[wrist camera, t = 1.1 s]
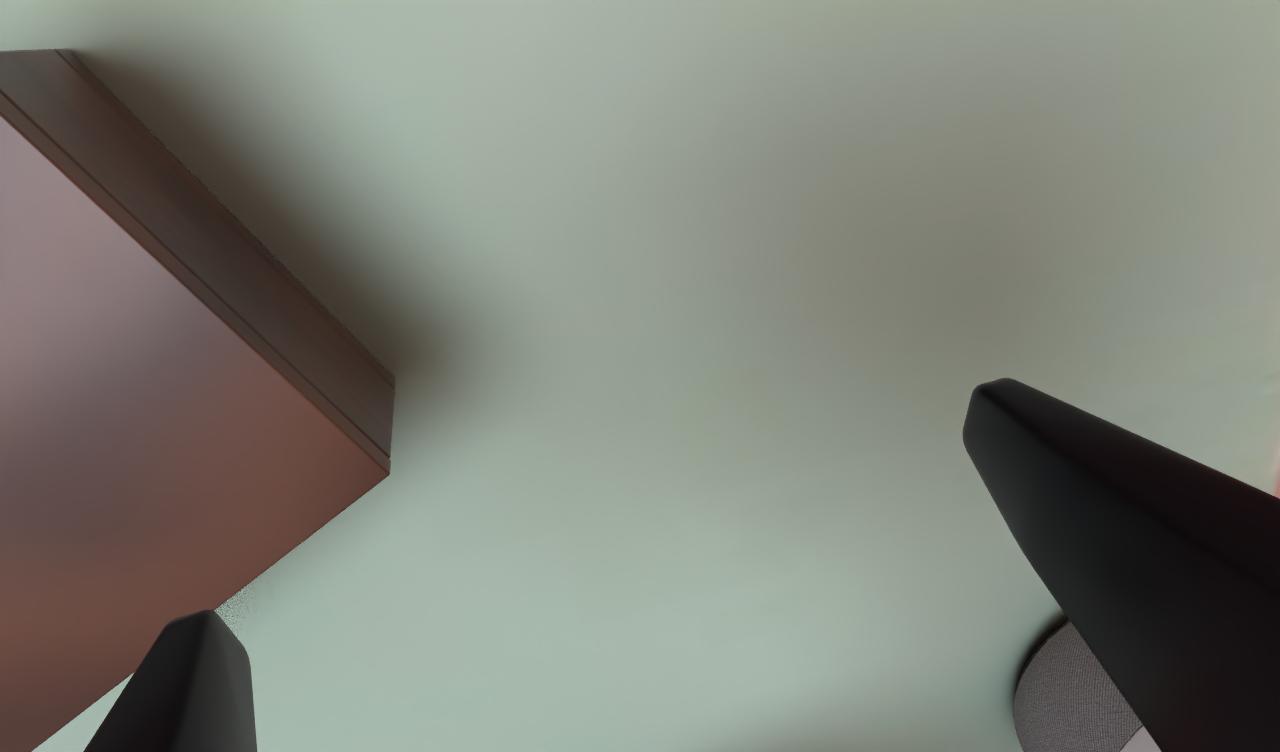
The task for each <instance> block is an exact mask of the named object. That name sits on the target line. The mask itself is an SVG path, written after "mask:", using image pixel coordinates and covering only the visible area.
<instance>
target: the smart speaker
mask: <svg viewBox="0 0 1280 752" xmlns="http://www.w3.org/2000/svg"><path fill="white" fill-rule="evenodd" d="M1013 717H1014V723H1015V728H1016V732H1017V736H1018V739H1019V742H1020V744H1021V747H1022V749H1023V751H1024V752H1161V750H1160V749H1159V748H1158V746H1157V745H1156V743H1155V742H1154V740H1153V739H1152V737H1151V736H1150V735H1149V733H1148V732H1147V730H1146V729H1145V727H1144V726H1143V725H1142V723H1141V722H1140V720H1139V719H1138V717H1137V716H1136V715H1135V713H1134V712H1133V710H1132V709H1131V707H1130V706H1129V704H1128V703H1127V702H1126V700H1125V699H1124V697H1123V696H1122V694H1121V693H1120V692H1119V690H1118V689H1117V687H1116V686H1115V684H1114V683H1113V682H1112V680H1111V679H1110V677H1109V676H1108V674H1107V673H1106V671H1105V670H1104V669H1103V667H1102V666H1101V664H1100V663H1099V661H1098V660H1097V659H1096V657H1095V656H1094V654H1093V653H1092V651H1091V650H1090V649H1089V647H1088V646H1087V644H1086V643H1085V641H1084V640H1083V638H1082V637H1081V636H1080V634H1079V633H1078V631H1077V630H1076V628H1075V627H1074V626H1073V624H1072V623H1071V621H1070V620H1069V621H1067V622H1065V623H1064V624H1063V625H1061V626H1060V627H1059V628H1057V629H1056V630H1055V631H1054V632H1053V633H1052V634H1051V635H1049V636H1048V637H1047V638H1046V639H1045V640H1044V641H1043V642H1042V644H1041V645H1040V646H1039V647H1038V648H1037V650H1036V651H1035V652H1034V653H1033V655H1032V656H1031V658H1030V659H1029V661H1028V662H1027V664H1026V666H1025V668H1024V670H1023V672H1022V674H1021V677H1020V679H1019V682H1018V685H1017V688H1016V692H1015V696H1014V704H1013Z"/></svg>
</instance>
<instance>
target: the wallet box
mask: <svg viewBox="0 0 1280 752" xmlns="http://www.w3.org/2000/svg"><path fill="white" fill-rule="evenodd" d="M0 93H1V94H2V95H3V96H4V97H5V98H6V99H7V100H8V101H9V102H10V103H11V104H12V105H13V106H14V107H16V108H17V109H18V110H19V111H20V112H21V113H22V114H23V115H24V116H25V117H26V118H27V119H28V120H29V121H30V122H32V123H33V124H34V125H35V126H36V127H37V128H38V129H39V130H40V131H41V132H42V133H43V134H44V135H45V136H46V137H47V138H49V139H50V140H51V141H52V142H53V143H54V144H55V145H56V146H57V147H58V148H59V149H60V150H61V151H62V152H63V153H64V154H66V155H67V156H68V157H69V158H70V159H71V160H72V161H73V162H74V163H75V164H76V165H77V166H78V167H79V168H80V169H82V170H83V171H84V172H85V173H86V174H87V175H88V176H89V177H90V178H91V179H92V180H93V181H94V182H95V183H96V184H97V185H99V186H100V187H101V188H102V189H103V190H104V191H105V192H106V193H107V194H108V195H109V196H110V197H111V198H112V199H113V200H114V201H116V202H117V203H118V204H119V205H120V206H121V207H122V208H123V209H124V210H125V211H126V212H127V213H128V214H129V215H130V216H131V217H133V218H134V219H135V220H136V221H137V222H138V223H139V224H140V225H141V226H142V227H143V228H144V229H145V230H146V231H147V232H149V233H150V234H151V235H152V236H153V237H154V238H155V239H156V240H157V241H158V242H159V243H160V244H161V245H162V246H163V247H164V248H166V249H167V250H168V251H169V252H170V253H171V254H172V255H173V256H174V257H175V258H176V259H177V260H178V261H179V262H180V263H181V264H183V265H184V266H185V267H186V268H187V269H188V270H189V271H190V272H191V273H192V274H193V275H194V276H195V277H196V278H197V279H199V280H200V281H201V282H202V283H203V284H204V285H205V286H206V287H207V288H208V289H209V290H210V291H211V292H212V293H213V294H214V295H216V296H217V297H218V298H219V299H220V300H221V301H222V302H223V303H224V304H225V305H226V306H227V307H228V308H229V309H230V310H231V311H233V312H234V313H235V314H236V315H237V316H238V317H239V318H240V319H241V320H242V321H243V322H244V323H245V324H246V325H247V326H249V327H250V328H251V329H252V330H253V331H254V332H255V333H256V334H257V335H258V336H259V337H260V338H261V339H262V340H263V341H264V342H266V343H267V344H268V345H269V346H270V347H271V348H272V349H273V350H274V351H275V352H276V353H277V354H278V355H279V356H280V357H281V358H283V359H284V360H285V361H286V362H287V363H288V364H289V365H290V366H291V367H292V368H293V369H294V370H295V371H296V372H297V373H299V374H300V375H301V376H302V377H303V378H304V379H305V380H306V381H307V382H308V383H309V384H310V385H311V386H312V387H313V388H314V389H316V390H317V391H318V392H319V393H320V394H321V395H322V396H323V397H324V398H325V399H326V400H327V401H328V402H329V403H330V404H331V405H333V406H334V407H335V408H336V409H337V410H338V411H339V412H340V413H341V414H342V415H343V416H344V417H345V418H346V419H347V420H348V421H350V422H351V423H352V424H353V425H354V426H355V427H356V428H357V429H358V430H359V431H360V432H361V433H362V434H363V435H364V436H366V437H367V438H368V439H369V440H370V441H371V442H372V443H373V444H374V445H375V446H376V447H377V448H378V449H379V450H380V451H381V452H383V453H384V454H385V455H386V456H387V457H388V458H389V459H390V455H391V440H392V425H393V411H394V396H395V391H394V390H395V381H396V380H395V378H394V377H393V376H392V375H391V374H390V373H389V372H388V371H387V370H386V369H385V368H384V367H383V366H382V365H381V364H380V363H379V362H378V361H377V360H376V359H375V358H374V357H373V356H372V355H371V354H370V353H369V352H368V351H367V350H366V349H365V348H364V347H363V346H362V345H361V344H360V343H359V342H358V341H357V340H356V339H355V338H354V337H353V336H352V335H351V334H350V333H349V332H348V331H347V330H346V329H345V328H344V327H343V326H342V325H341V324H340V323H339V322H338V321H337V320H336V319H335V318H334V317H333V316H332V315H331V314H330V312H329V311H328V310H327V309H326V308H325V307H324V306H323V305H322V304H321V303H320V302H319V301H318V300H317V299H316V298H315V297H314V296H313V295H312V294H311V293H310V292H309V291H308V290H307V289H306V288H305V287H304V286H303V285H302V284H301V283H300V282H299V281H298V280H297V279H296V278H295V277H294V276H293V275H292V274H291V273H290V272H289V271H288V270H287V269H286V268H285V267H284V266H283V265H282V264H281V263H280V262H279V261H278V260H277V259H276V258H275V257H274V256H273V255H272V254H271V253H270V252H269V251H268V250H267V249H266V248H265V247H264V246H263V245H262V244H261V243H260V242H259V241H258V240H257V239H256V238H255V237H254V236H253V235H252V234H251V233H250V232H249V231H248V230H247V229H246V228H245V227H244V226H243V225H242V224H241V223H240V222H239V221H238V220H237V219H236V218H235V217H234V216H233V215H232V214H231V213H230V212H229V211H228V210H227V209H226V208H225V207H224V206H223V205H222V204H221V203H220V202H219V201H218V200H217V199H216V198H215V197H214V196H213V195H212V194H211V193H210V192H209V191H208V190H207V189H206V188H205V187H204V186H203V184H202V183H201V182H200V181H199V180H198V179H197V178H196V177H195V176H194V175H193V174H192V173H191V172H190V171H189V170H188V169H187V168H186V167H185V166H184V165H183V164H182V163H181V162H180V161H179V160H178V159H177V158H176V157H175V156H174V155H173V154H172V153H171V152H170V151H169V150H168V149H167V148H166V147H165V146H164V145H163V144H162V143H161V142H160V141H159V140H158V139H157V138H156V137H155V136H154V135H153V134H152V133H151V132H150V131H149V130H148V129H147V128H146V127H145V126H144V125H143V124H142V123H141V122H140V121H139V120H138V119H137V118H136V117H135V116H134V115H133V114H132V113H131V112H130V111H129V110H128V109H127V108H126V107H125V106H124V105H123V104H122V103H121V102H120V101H119V100H118V99H117V98H116V97H115V96H114V95H113V94H112V93H111V92H110V91H109V90H108V89H107V88H106V87H105V86H104V85H103V84H102V83H101V82H100V81H99V80H98V79H97V78H96V77H95V76H94V75H93V74H92V73H91V72H90V71H89V70H88V69H87V68H86V67H85V66H84V65H83V64H82V63H81V62H80V61H79V60H78V59H77V58H76V56H75V55H74V54H73V53H72V52H71V51H70V50H68V49H53V50H52V49H43V50H16V51H0Z"/></svg>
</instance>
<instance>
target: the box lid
mask: <svg viewBox="0 0 1280 752" xmlns="http://www.w3.org/2000/svg"><path fill="white" fill-rule="evenodd" d="M390 463H391V461H390V459H389V458H388V457H387V456H386V455H385V454H384V453H383V452H381V451H380V450H379V449H378V448H377V447H376V446H375V445H374V444H373V443H372V442H371V441H370V440H369V439H368V438H367V437H366V436H364V435H363V434H362V433H361V432H360V431H359V430H358V429H357V428H356V427H355V426H354V425H353V424H352V423H351V422H350V421H348V420H347V419H346V418H345V417H344V416H343V415H342V414H341V413H340V412H339V411H338V410H337V409H336V408H335V407H334V406H333V405H331V404H330V403H329V402H328V401H327V400H326V399H325V398H324V397H323V396H322V395H321V394H320V393H319V392H318V391H317V390H316V389H314V388H313V387H312V386H311V385H310V384H309V383H308V382H307V381H306V380H305V379H304V378H303V377H302V376H301V375H300V374H299V373H297V372H296V371H295V370H294V369H293V368H292V367H291V366H290V365H289V364H288V363H287V362H286V361H285V360H284V359H283V358H281V357H280V356H279V355H278V354H277V353H276V352H275V351H274V350H273V349H272V348H271V347H270V346H269V345H268V344H267V343H266V342H264V341H263V340H262V339H261V338H260V337H259V336H258V335H257V334H256V333H255V332H254V331H253V330H252V329H251V328H250V327H249V326H247V325H246V324H245V323H244V322H243V321H242V320H241V319H240V318H239V317H238V316H237V315H236V314H235V313H234V312H233V311H231V310H230V309H229V308H228V307H227V306H226V305H225V304H224V303H223V302H222V301H221V300H220V299H219V298H218V297H217V296H216V295H214V294H213V293H212V292H211V291H210V290H209V289H208V288H207V287H206V286H205V285H204V284H203V283H202V282H201V281H200V280H199V279H197V278H196V277H195V276H194V275H193V274H192V273H191V272H190V271H189V270H188V269H187V268H186V267H185V266H184V265H183V264H181V263H180V262H179V261H178V260H177V259H176V258H175V257H174V256H173V255H172V254H171V253H170V252H169V251H168V250H167V249H166V248H164V247H163V246H162V245H161V244H160V243H159V242H158V241H157V240H156V239H155V238H154V237H153V236H152V235H151V234H150V233H149V232H147V231H146V230H145V229H144V228H143V227H142V226H141V225H140V224H139V223H138V222H137V221H136V220H135V219H134V218H133V217H131V216H130V215H129V214H128V213H127V212H126V211H125V210H124V209H123V208H122V207H121V206H120V205H119V204H118V203H117V202H116V201H114V200H113V199H112V198H111V197H110V196H109V195H108V194H107V193H106V192H105V191H104V190H103V189H102V188H101V187H100V186H99V185H97V184H96V183H95V182H94V181H93V180H92V179H91V178H90V177H89V176H88V175H87V174H86V173H85V172H84V171H83V170H82V169H80V168H79V167H78V166H77V165H76V164H75V163H74V162H73V161H72V160H71V159H70V158H69V157H68V156H67V155H66V154H64V153H63V152H62V151H61V150H60V149H59V148H58V147H57V146H56V145H55V144H54V143H53V142H52V141H51V140H50V139H49V138H47V137H46V136H45V135H44V134H43V133H42V132H41V131H40V130H39V129H38V128H37V127H36V126H35V125H34V124H33V123H32V122H30V121H29V120H28V119H27V118H26V117H25V116H24V115H23V114H22V113H21V112H20V111H19V110H18V109H17V108H16V107H14V106H13V105H12V104H11V103H10V102H9V101H8V100H7V99H6V98H5V97H4V96H3V95H2V94H1V93H0V752H31V751H33V750H34V749H35V748H37V747H38V746H39V745H40V744H42V743H43V742H44V741H46V740H47V739H48V738H49V737H51V736H52V735H53V734H55V733H56V732H57V731H59V730H60V729H61V728H62V727H64V726H65V725H66V724H68V723H69V722H70V721H71V720H73V719H74V718H75V717H77V716H78V715H79V714H81V713H82V712H83V711H84V710H86V709H87V708H88V707H90V706H91V705H92V704H93V703H95V702H96V701H97V700H99V699H100V698H101V697H103V696H104V695H105V694H106V693H108V692H109V691H110V690H112V689H113V688H114V687H115V686H117V685H118V684H119V683H121V682H122V681H123V680H125V679H126V678H127V677H128V676H130V675H131V674H132V673H134V672H135V671H136V670H137V668H138V667H139V665H140V664H141V662H142V660H143V659H144V657H145V656H146V654H147V653H148V651H149V650H150V648H151V646H152V645H153V643H154V642H155V640H156V639H157V637H158V636H159V634H160V633H161V631H162V629H163V628H164V627H165V626H166V625H167V624H168V623H169V622H170V621H171V620H173V619H175V618H178V617H181V616H184V615H188V614H191V613H195V612H198V611H202V610H208V609H209V610H212V611H214V610H215V609H216V608H218V607H219V606H220V605H222V604H223V603H224V602H225V601H227V600H228V599H229V598H231V597H232V596H233V595H235V594H236V593H237V592H238V591H240V590H241V589H242V588H244V587H245V586H246V585H247V584H249V583H250V582H251V581H253V580H254V579H255V578H257V577H258V576H259V575H260V574H262V573H263V572H264V571H266V570H267V569H268V568H269V567H271V566H272V565H273V564H275V563H276V562H277V561H279V560H280V559H281V558H282V557H284V556H285V555H286V554H288V553H289V552H290V551H291V550H293V549H294V548H295V547H297V546H298V545H299V544H301V543H302V542H303V541H304V540H306V539H307V538H308V537H310V536H311V535H312V534H313V533H315V532H316V531H317V530H319V529H320V528H321V527H323V526H324V525H325V524H326V523H328V522H329V521H330V520H332V519H333V518H334V517H335V516H337V515H338V514H339V513H341V512H342V511H343V510H345V509H346V508H347V507H348V506H350V505H351V504H352V503H354V502H355V501H356V500H357V499H359V498H360V497H361V496H363V495H364V494H365V493H367V492H368V491H369V490H370V489H372V488H373V487H374V486H376V485H377V484H378V483H379V482H381V481H382V480H383V479H385V478H386V477H387V476H389V474H390Z"/></svg>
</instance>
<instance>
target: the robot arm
mask: <svg viewBox="0 0 1280 752" xmlns="http://www.w3.org/2000/svg"><path fill="white" fill-rule="evenodd" d="M963 441H964V445H965V448H966V450H967V452H968V454H969V456H970V458H971V460H972V461H973V463H974V465H975V467H976V469H977V470H978V472H979V474H980V476H981V478H982V480H983V481H984V483H985V485H986V487H987V489H988V491H989V492H990V494H991V496H992V498H993V500H994V501H995V503H996V505H997V507H998V509H999V511H1000V512H1001V514H1002V516H1003V518H1004V520H1005V522H1006V523H1007V525H1008V527H1009V529H1010V531H1011V532H1012V534H1013V536H1014V538H1015V540H1016V541H1017V543H1018V545H1019V546H1020V548H1021V550H1022V551H1023V553H1024V555H1025V556H1026V558H1027V559H1028V561H1029V562H1030V564H1031V565H1032V567H1033V568H1034V570H1035V571H1036V572H1037V574H1038V575H1039V577H1040V578H1041V580H1042V581H1043V583H1044V584H1045V585H1046V587H1047V588H1048V590H1049V591H1050V593H1051V594H1052V595H1053V597H1054V598H1055V600H1056V601H1057V603H1058V604H1059V605H1060V607H1061V608H1062V610H1063V611H1064V613H1065V614H1066V616H1067V617H1068V618H1069V620H1070V621H1071V623H1072V624H1073V626H1074V627H1075V628H1076V630H1077V631H1078V633H1079V634H1080V636H1081V637H1082V638H1083V640H1084V641H1085V643H1086V644H1087V646H1088V647H1089V649H1090V650H1091V651H1092V653H1093V654H1094V656H1095V657H1096V659H1097V660H1098V661H1099V663H1100V664H1101V666H1102V667H1103V669H1104V670H1105V671H1106V673H1107V674H1108V676H1109V677H1110V679H1111V680H1112V682H1113V683H1114V684H1115V686H1116V687H1117V689H1118V690H1119V692H1120V693H1121V694H1122V696H1123V697H1124V699H1125V700H1126V702H1127V703H1128V704H1129V706H1130V707H1131V709H1132V710H1133V712H1134V713H1135V715H1136V716H1137V717H1138V719H1139V720H1140V722H1141V723H1142V725H1143V726H1144V727H1145V729H1146V730H1147V732H1148V733H1149V735H1150V736H1151V737H1152V739H1153V740H1154V742H1155V743H1156V745H1157V746H1158V748H1159V749H1160V750H1161V752H1280V499H1279V498H1277V497H1275V496H1272V495H1270V494H1268V493H1266V492H1264V491H1261V490H1259V489H1257V488H1255V487H1252V486H1250V485H1248V484H1246V483H1244V482H1241V481H1239V480H1237V479H1235V478H1232V477H1230V476H1228V475H1226V474H1223V473H1221V472H1219V471H1217V470H1215V469H1212V468H1210V467H1208V466H1206V465H1203V464H1201V463H1199V462H1197V461H1195V460H1192V459H1190V458H1188V457H1186V456H1183V455H1181V454H1179V453H1177V452H1174V451H1172V450H1170V449H1168V448H1166V447H1163V446H1161V445H1159V444H1157V443H1154V442H1152V441H1150V440H1148V439H1146V438H1143V437H1141V436H1139V435H1137V434H1134V433H1132V432H1130V431H1128V430H1125V429H1123V428H1121V427H1119V426H1117V425H1114V424H1112V423H1110V422H1108V421H1105V420H1103V419H1101V418H1099V417H1097V416H1094V415H1092V414H1090V413H1088V412H1085V411H1083V410H1081V409H1079V408H1076V407H1074V406H1072V405H1070V404H1068V403H1065V402H1063V401H1061V400H1059V399H1056V398H1054V397H1052V396H1050V395H1048V394H1045V393H1043V392H1041V391H1039V390H1036V389H1034V388H1032V387H1030V386H1027V385H1025V384H1023V383H1021V382H1019V381H1016V380H1014V379H1010V378H1002V379H998V380H994V381H991V382H987V383H984V384H980V385H978V386H977V387H976V388H975V389H974V390H973V392H972V395H971V399H970V403H969V407H968V411H967V415H966V419H965V423H964V427H963ZM84 752H257V743H256V730H255V717H254V704H253V691H252V679H251V667H250V661H249V657H248V654H247V652H246V650H245V648H244V646H243V645H242V644H241V642H240V641H239V640H238V639H237V637H236V636H235V635H234V634H233V632H232V631H231V630H230V629H229V627H228V626H227V625H226V624H225V623H224V621H223V620H222V619H221V618H220V616H219V615H218V614H217V613H216V612H214V611H212V610H209V609H208V610H202V611H198V612H195V613H191V614H188V615H184V616H181V617H178V618H175V619H173V620H171V621H170V622H169V623H168V624H167V625H166V626H165V627H164V628H163V629H162V631H161V633H160V634H159V636H158V637H157V639H156V640H155V642H154V643H153V645H152V646H151V648H150V650H149V651H148V653H147V654H146V656H145V657H144V659H143V660H142V662H141V664H140V665H139V667H138V668H137V670H136V671H135V673H134V674H133V676H132V677H131V679H130V681H129V682H128V684H127V685H126V687H125V688H124V690H123V691H122V693H121V695H120V696H119V698H118V699H117V701H116V702H115V704H114V705H113V707H112V708H111V710H110V712H109V713H108V715H107V716H106V718H105V719H104V721H103V722H102V724H101V725H100V727H99V729H98V730H97V732H96V733H95V735H94V736H93V738H92V739H91V741H90V743H89V744H88V746H87V747H86V749H85V750H84Z"/></svg>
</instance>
